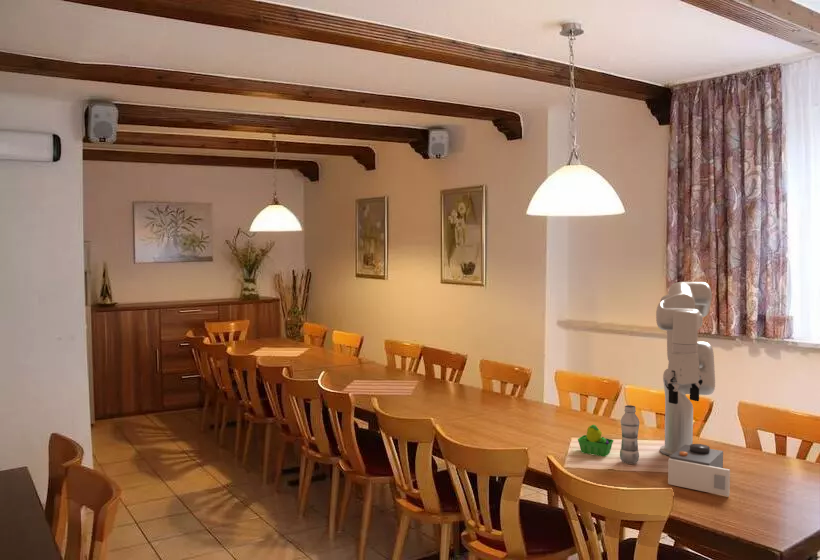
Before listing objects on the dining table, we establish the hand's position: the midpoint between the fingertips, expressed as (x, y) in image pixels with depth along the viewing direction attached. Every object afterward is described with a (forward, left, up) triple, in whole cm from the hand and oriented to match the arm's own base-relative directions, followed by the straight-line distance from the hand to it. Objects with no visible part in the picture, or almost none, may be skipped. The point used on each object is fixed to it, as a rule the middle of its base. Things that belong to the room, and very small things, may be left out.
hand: (683, 401), depth 224 cm
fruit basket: (-10, -34, -26) cm, 44 cm away
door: (+7, +7, -25) cm, 27 cm away
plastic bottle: (-7, -20, -26) cm, 34 cm away
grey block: (-2, +4, -26) cm, 26 cm away
